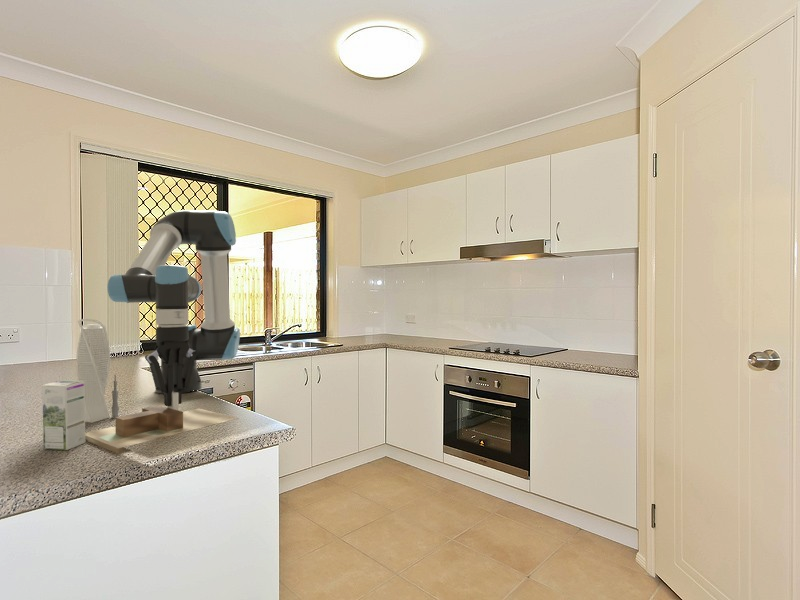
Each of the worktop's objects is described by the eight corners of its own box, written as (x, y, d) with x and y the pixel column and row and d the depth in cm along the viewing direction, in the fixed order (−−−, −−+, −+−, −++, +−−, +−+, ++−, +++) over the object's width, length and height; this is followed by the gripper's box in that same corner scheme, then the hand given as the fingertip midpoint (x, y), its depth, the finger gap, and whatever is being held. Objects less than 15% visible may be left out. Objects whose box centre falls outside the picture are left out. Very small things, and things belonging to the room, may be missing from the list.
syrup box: (86, 442, 105) (86, 379, 105) (65, 451, 99) (65, 384, 99) (63, 441, 106) (63, 379, 106) (41, 450, 100) (41, 384, 100)
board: (198, 412, 133) (198, 408, 133) (239, 422, 122) (239, 418, 122) (81, 438, 108) (81, 433, 108) (118, 454, 97) (118, 448, 97)
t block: (157, 420, 120) (157, 405, 119) (183, 427, 113) (183, 411, 113) (107, 431, 110) (107, 415, 110) (132, 440, 103) (132, 422, 103)
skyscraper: (94, 429, 116) (94, 319, 116) (67, 427, 118) (67, 319, 117) (120, 420, 124) (120, 317, 124) (95, 418, 126) (95, 317, 126)
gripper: (154, 327, 109) (155, 426, 109) (204, 324, 120) (204, 414, 120) (138, 326, 113) (139, 421, 113) (188, 324, 124) (188, 410, 124)
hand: (173, 417), depth 117 cm, fingers closed
